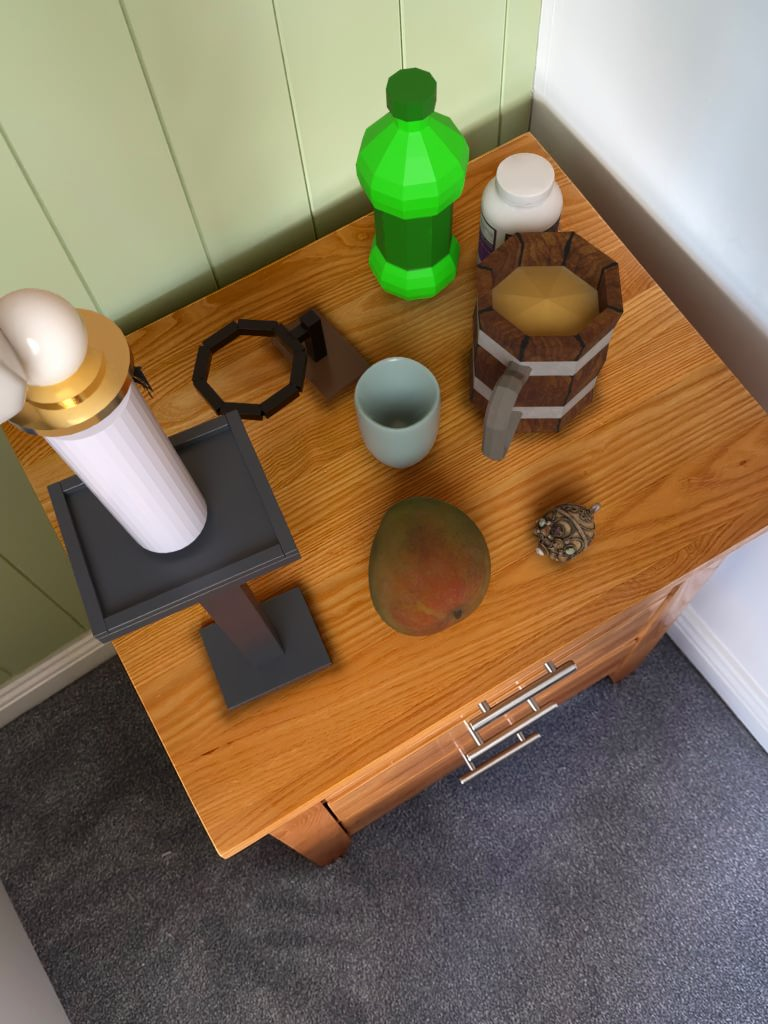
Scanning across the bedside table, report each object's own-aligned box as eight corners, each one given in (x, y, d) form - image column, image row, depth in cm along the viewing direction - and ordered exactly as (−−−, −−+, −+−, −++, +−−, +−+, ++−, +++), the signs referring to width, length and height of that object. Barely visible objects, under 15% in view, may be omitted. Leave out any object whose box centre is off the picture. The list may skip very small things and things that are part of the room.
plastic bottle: (433, 229, 95) (436, 26, 72) (477, 297, 91) (494, 105, 68) (354, 262, 94) (330, 66, 71) (394, 332, 90) (384, 148, 67)
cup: (346, 446, 85) (336, 396, 75) (398, 397, 87) (394, 341, 77) (402, 493, 82) (399, 446, 73) (454, 441, 84) (458, 389, 75)
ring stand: (249, 465, 84) (234, 430, 77) (190, 395, 88) (170, 356, 81) (375, 374, 88) (370, 332, 81) (313, 310, 91) (303, 266, 84)
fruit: (402, 666, 75) (398, 638, 66) (338, 553, 80) (327, 513, 71) (511, 605, 77) (523, 570, 68) (443, 498, 82) (445, 452, 73)
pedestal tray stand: (223, 726, 74) (93, 637, 45) (187, 627, 78) (46, 485, 49) (347, 670, 76) (297, 549, 47) (306, 575, 79) (236, 408, 50)
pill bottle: (561, 263, 92) (584, 161, 79) (526, 314, 90) (544, 219, 77) (497, 234, 94) (509, 130, 81) (462, 283, 92) (467, 185, 79)
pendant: (517, 543, 80) (522, 523, 75) (575, 496, 81) (584, 473, 77) (553, 581, 78) (561, 563, 73) (612, 532, 80) (623, 512, 75)
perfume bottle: (219, 564, 47) (87, 370, 29) (118, 570, 47) (-78, 382, 29) (222, 472, 49) (101, 238, 31) (125, 479, 49) (-52, 249, 31)
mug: (491, 310, 90) (503, 210, 76) (612, 349, 88) (646, 252, 74) (421, 460, 84) (420, 380, 70) (550, 507, 81) (575, 434, 67)
